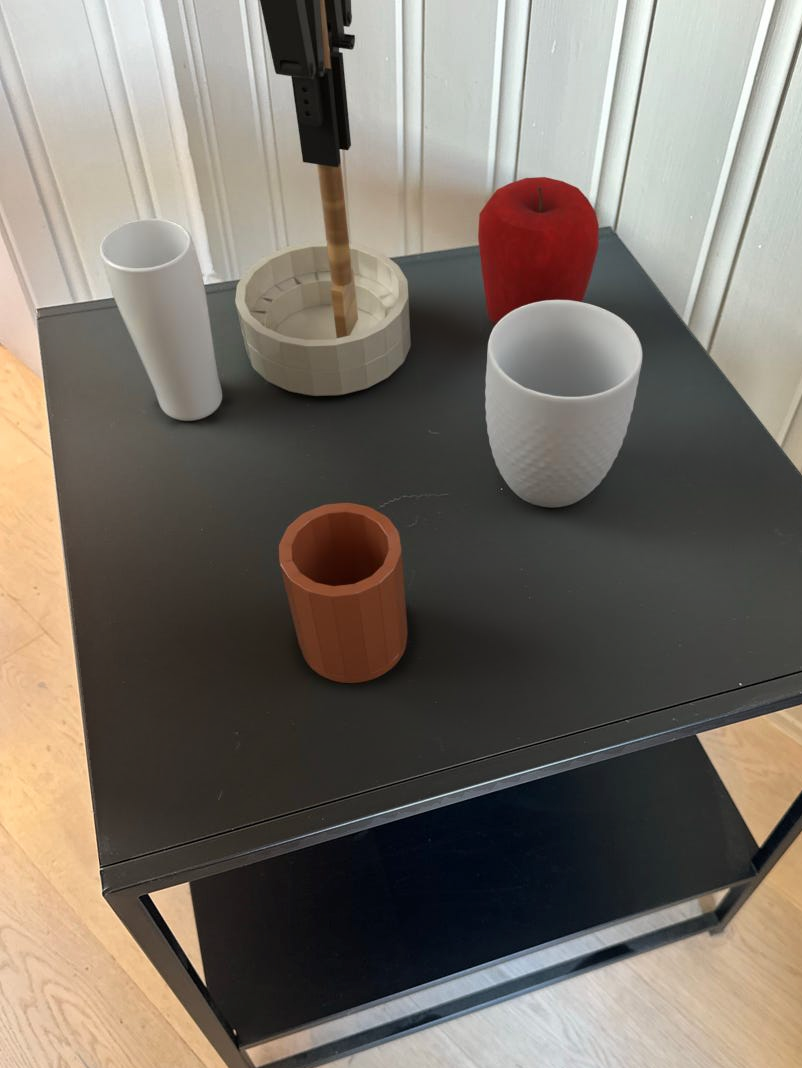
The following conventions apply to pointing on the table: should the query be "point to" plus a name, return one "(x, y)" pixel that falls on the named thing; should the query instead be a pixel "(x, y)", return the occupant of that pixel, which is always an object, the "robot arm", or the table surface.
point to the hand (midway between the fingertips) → (327, 153)
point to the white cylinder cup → (165, 313)
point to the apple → (536, 244)
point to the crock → (346, 590)
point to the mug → (559, 397)
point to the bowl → (323, 320)
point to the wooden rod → (337, 231)
